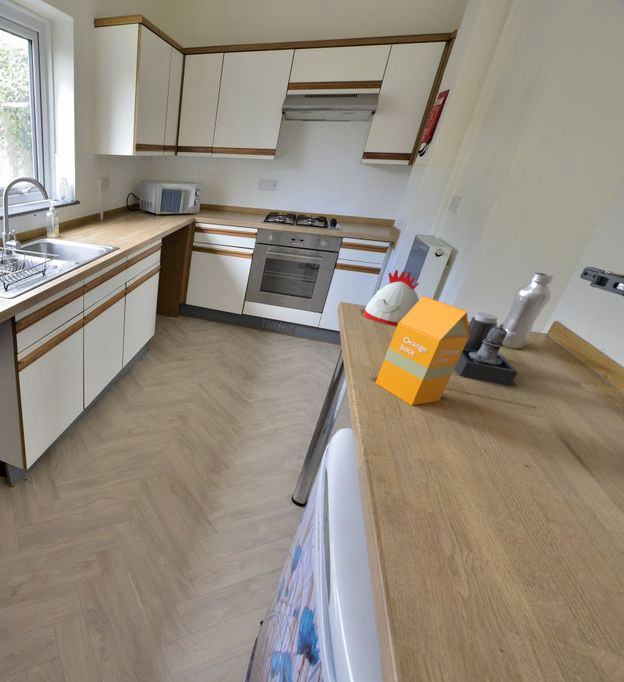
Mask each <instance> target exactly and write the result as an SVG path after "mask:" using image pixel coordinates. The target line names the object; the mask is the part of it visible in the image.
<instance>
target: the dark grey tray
mask: <svg viewBox="0 0 624 682" xmlns="http://www.w3.org/2000/svg"><path fill="white" fill-rule="evenodd" d="M470 352H478V351H477V350H471V349H466V348H464V349H463V351H462V353H461V355H460V357H459V360H458V362H457V364H456V367H455V369H454V370H456V372H457V373H458V375H459V376H460V377H463V378H469V379H473V380H478V381H483V382H488V383H494V384H498V385H503V386H509V387H511V386H512V384H513V382H514V380H515V378H516V377H517V374H518V373H519V372H518V370H517V369H516V368H515V367H514V366H513V365H512V364H511V363H510V362H509V361H508V360H507V358H505V357H504V356H503V354H502V353H501V352H500V350H499V351H498V353H497V358H498V359H500V360H501V361H502V363H501V364H499V365H498V366H497V367H495V366H490V365H484V364H479V363H474V362H470V361H469V357H470V355H469V353H470Z"/></svg>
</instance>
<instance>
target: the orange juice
mask: <svg viewBox="0 0 624 682" xmlns="http://www.w3.org/2000/svg"><path fill="white" fill-rule="evenodd" d="M468 319H469V318H468V311H467V310H465V309H462V308H459V307H456V306H453V305H450V304H447V303H446V302H445V303H444V302H442V301H439V300H436V299H433V298H430V297H427V296H425V295H422V297H420V299H419V301H418V302H417V303H416V305H415V306H414V307H413V308H412V309H411V310H410V311H409V312H408V313H407V314H406V315H405V317H404V318H403V319H402V320H401V321H400V322H398V325H397V326H396V328H395V330H394V333H393V335H392V338H391V341H390V344H389V346H388V348H387V351H386V354H385V355H384V360H383V361H382V365H381V366H380V367H381V368H380V370H379V373H378V375H377V377H376V381H375V385H377V386H379V387H381V388H382V389H384V390H386V391H387V392H389V393H391V394H392V395H394V396H395V397H397V398H399V399H400V400H402V401H404V402H405V403H406V404H408V405H410V406H417V405H422V404H428V403H435V402H440V400H441V398H442V396H443V394H444V391H445V390H446V387H447V385H448V383H449V381H450V379H451V377H452V375H453V373H454V371H455V370H456V369H455V367H456V364H457V362H458V360H459V357H460V355H461V353H462V351H463V349H464V347H465V345H466V343H467V340H468V338H469V330H468V326H469V321H468Z"/></svg>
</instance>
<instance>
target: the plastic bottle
mask: <svg viewBox="0 0 624 682" xmlns="http://www.w3.org/2000/svg"><path fill="white" fill-rule="evenodd" d="M553 279H554V275H552V274H549V273H544V272H533V274H532V277H530V279H529V280H530V281H529V282H527V283H526V284H524V285H523V286H520V287H519V288H518V289H517V290H516V293H515V295H514V299H513V301H512V305H511V307H510V311H509V312H508V315H507V317H506V318H505V320H504V321H503V323H502V324H503V326H502V328H503V329H505V330H506V331H507V334H506V336H505V338H504V340H503V342H502V344H503V346H502V347H505V348H509V349H513V350H514V349H515V350H520V349H522V348H524V347H525V346H526V345H527V343H528V342H529V339H530V335H531V333H532V332H531V331H532V329H533V327H534V324H535V322H536V320H537V318H538V317H539V315H540V314H541V311H542V310H543V309H544V308H545V306H546V305H547V304H548V302H549V301H550V300H551V295H552V294H551V290H550V287H549V285H550V284H552V281H553Z"/></svg>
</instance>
